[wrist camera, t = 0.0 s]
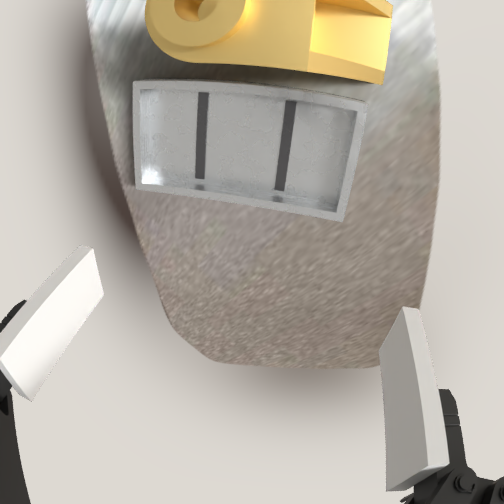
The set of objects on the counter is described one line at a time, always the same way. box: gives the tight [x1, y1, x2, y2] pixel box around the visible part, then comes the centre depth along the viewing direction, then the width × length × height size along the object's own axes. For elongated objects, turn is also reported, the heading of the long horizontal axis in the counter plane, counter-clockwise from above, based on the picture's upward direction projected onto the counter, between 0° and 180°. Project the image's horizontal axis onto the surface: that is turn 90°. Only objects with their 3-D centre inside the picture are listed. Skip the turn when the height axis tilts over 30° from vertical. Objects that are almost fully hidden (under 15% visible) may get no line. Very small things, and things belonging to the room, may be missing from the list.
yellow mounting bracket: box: [145, 0, 393, 85], centre depth 22 cm, size 20×9×16 cm, turn 85°
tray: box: [133, 79, 368, 222], centre depth 35 cm, size 14×26×4 cm, turn 85°
